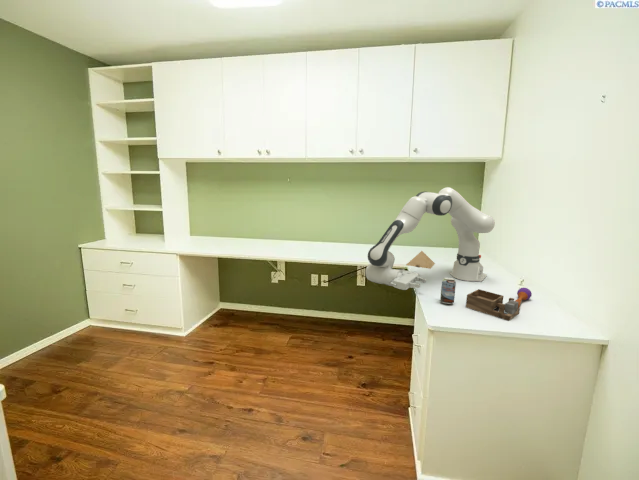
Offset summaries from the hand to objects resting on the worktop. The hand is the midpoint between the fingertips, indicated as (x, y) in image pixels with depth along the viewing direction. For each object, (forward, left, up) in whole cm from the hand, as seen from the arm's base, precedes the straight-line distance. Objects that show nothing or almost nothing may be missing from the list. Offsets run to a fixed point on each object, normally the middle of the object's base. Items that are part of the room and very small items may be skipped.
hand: (422, 283), depth 154 cm
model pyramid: (-55, -35, -8) cm, 66 cm away
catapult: (-11, +28, -7) cm, 31 cm away
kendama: (-32, +33, -8) cm, 47 cm away
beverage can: (-3, +11, -7) cm, 14 cm away
